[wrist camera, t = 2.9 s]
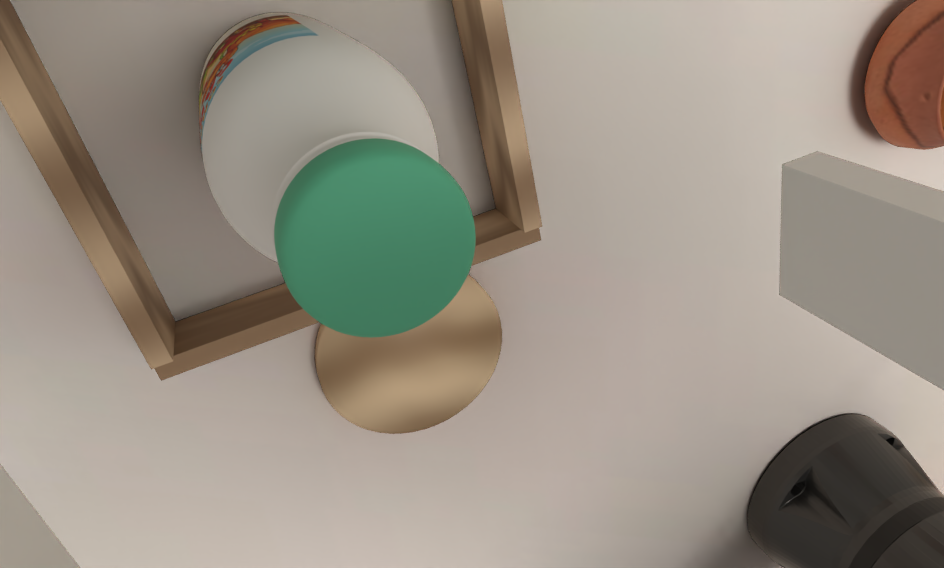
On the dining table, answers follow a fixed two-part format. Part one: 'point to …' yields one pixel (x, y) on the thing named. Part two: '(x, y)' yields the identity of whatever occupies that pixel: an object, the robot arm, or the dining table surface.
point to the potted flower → (909, 78)
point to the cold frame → (275, 310)
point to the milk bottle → (333, 174)
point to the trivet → (413, 366)
